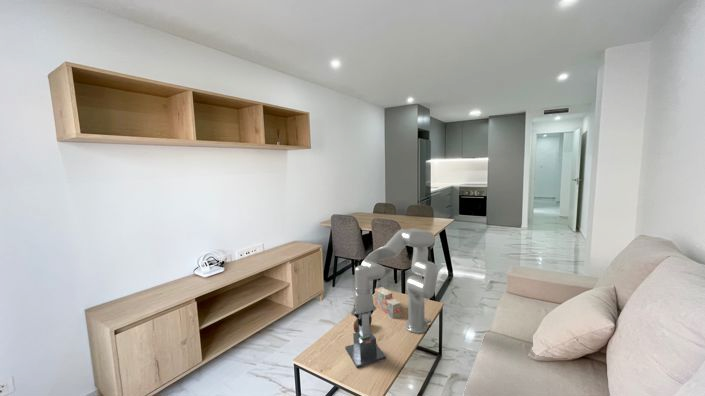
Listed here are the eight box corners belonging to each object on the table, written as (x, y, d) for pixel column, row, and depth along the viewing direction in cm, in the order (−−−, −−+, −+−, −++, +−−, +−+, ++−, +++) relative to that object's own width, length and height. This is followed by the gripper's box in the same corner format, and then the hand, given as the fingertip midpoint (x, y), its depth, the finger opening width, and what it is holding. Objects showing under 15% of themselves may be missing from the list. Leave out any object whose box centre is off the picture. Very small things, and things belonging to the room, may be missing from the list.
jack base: (372, 341, 160) (371, 324, 158) (385, 358, 145) (385, 340, 144) (345, 349, 154) (344, 331, 153) (356, 368, 139) (356, 348, 138)
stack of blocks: (400, 316, 185) (400, 298, 184) (393, 318, 183) (392, 300, 181) (382, 303, 204) (382, 286, 203) (375, 305, 201) (374, 288, 200)
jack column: (366, 338, 151) (365, 309, 149) (370, 342, 147) (369, 313, 146) (359, 340, 150) (358, 311, 148) (362, 344, 146) (361, 315, 144)
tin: (357, 336, 165) (356, 322, 164) (352, 334, 167) (352, 321, 166) (372, 325, 176) (371, 312, 175) (368, 323, 178) (367, 310, 177)
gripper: (374, 284, 152) (375, 316, 154) (345, 290, 146) (346, 324, 148) (381, 289, 145) (381, 323, 147) (350, 296, 139) (351, 331, 141)
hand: (364, 323), depth 147 cm, fingers closed on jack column, 4 cm apart
